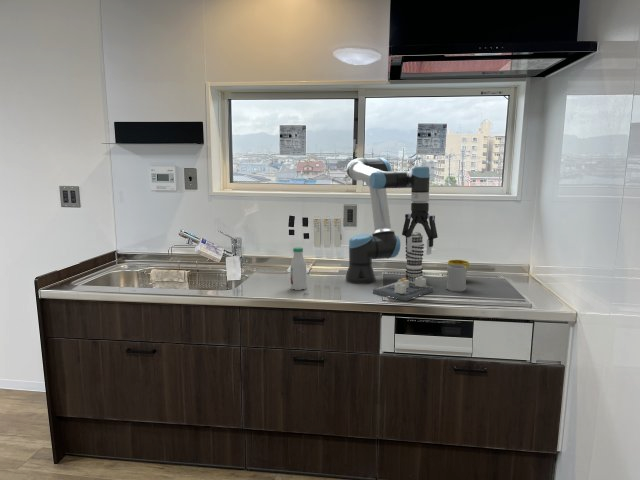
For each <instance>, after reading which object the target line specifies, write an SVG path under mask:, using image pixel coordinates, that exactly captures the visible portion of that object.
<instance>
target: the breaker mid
mask: <svg viewBox="0 0 640 480" xmlns="http://www.w3.org/2000/svg"><path fill="white" fill-rule="evenodd" d="M397 282H398V283H400V282H403V283H404V285H406V288H409V280H406V277H402V278H400V279H397Z"/></svg>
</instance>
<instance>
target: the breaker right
mask: <svg viewBox="0 0 640 480" xmlns="http://www.w3.org/2000/svg"><path fill="white" fill-rule="evenodd" d="M415 286H419V287H424V286H427V278H424V275H423V276H420V277H418V278H415Z"/></svg>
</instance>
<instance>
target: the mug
mask: <svg viewBox="0 0 640 480" xmlns="http://www.w3.org/2000/svg"><path fill="white" fill-rule="evenodd" d="M446 276H447V278H446V289H447V290H448V291H450V290H451V292H465V291H466V290H467V285H466V284H467V273H466V266H463V265H449V266H448V265H447V275H446Z"/></svg>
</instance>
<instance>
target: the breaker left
mask: <svg viewBox="0 0 640 480" xmlns="http://www.w3.org/2000/svg"><path fill="white" fill-rule="evenodd" d="M395 293H400V294H404V293H406V285H404V283H403V282H400V283H397V284H395Z"/></svg>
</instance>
